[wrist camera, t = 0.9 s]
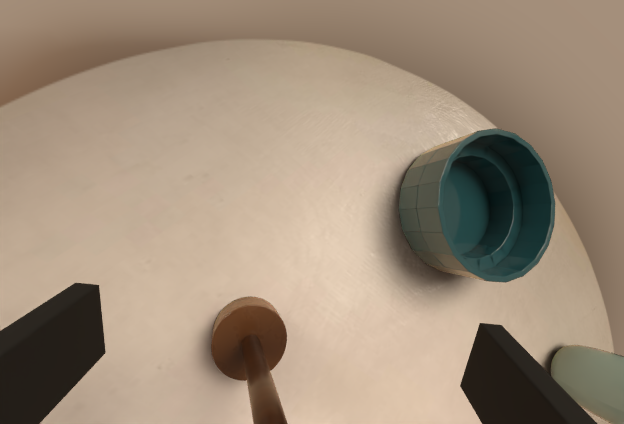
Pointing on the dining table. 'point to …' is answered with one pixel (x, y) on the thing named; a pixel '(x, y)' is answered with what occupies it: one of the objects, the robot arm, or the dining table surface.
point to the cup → (592, 380)
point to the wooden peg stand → (252, 352)
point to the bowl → (479, 206)
